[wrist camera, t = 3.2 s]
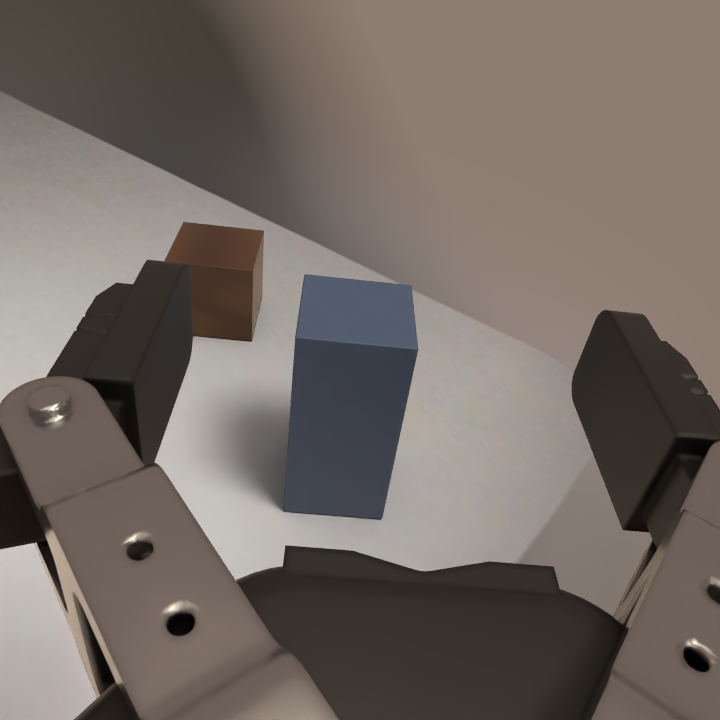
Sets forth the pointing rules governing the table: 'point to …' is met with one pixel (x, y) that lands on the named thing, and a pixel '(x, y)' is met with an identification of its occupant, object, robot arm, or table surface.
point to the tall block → (348, 394)
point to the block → (222, 277)
